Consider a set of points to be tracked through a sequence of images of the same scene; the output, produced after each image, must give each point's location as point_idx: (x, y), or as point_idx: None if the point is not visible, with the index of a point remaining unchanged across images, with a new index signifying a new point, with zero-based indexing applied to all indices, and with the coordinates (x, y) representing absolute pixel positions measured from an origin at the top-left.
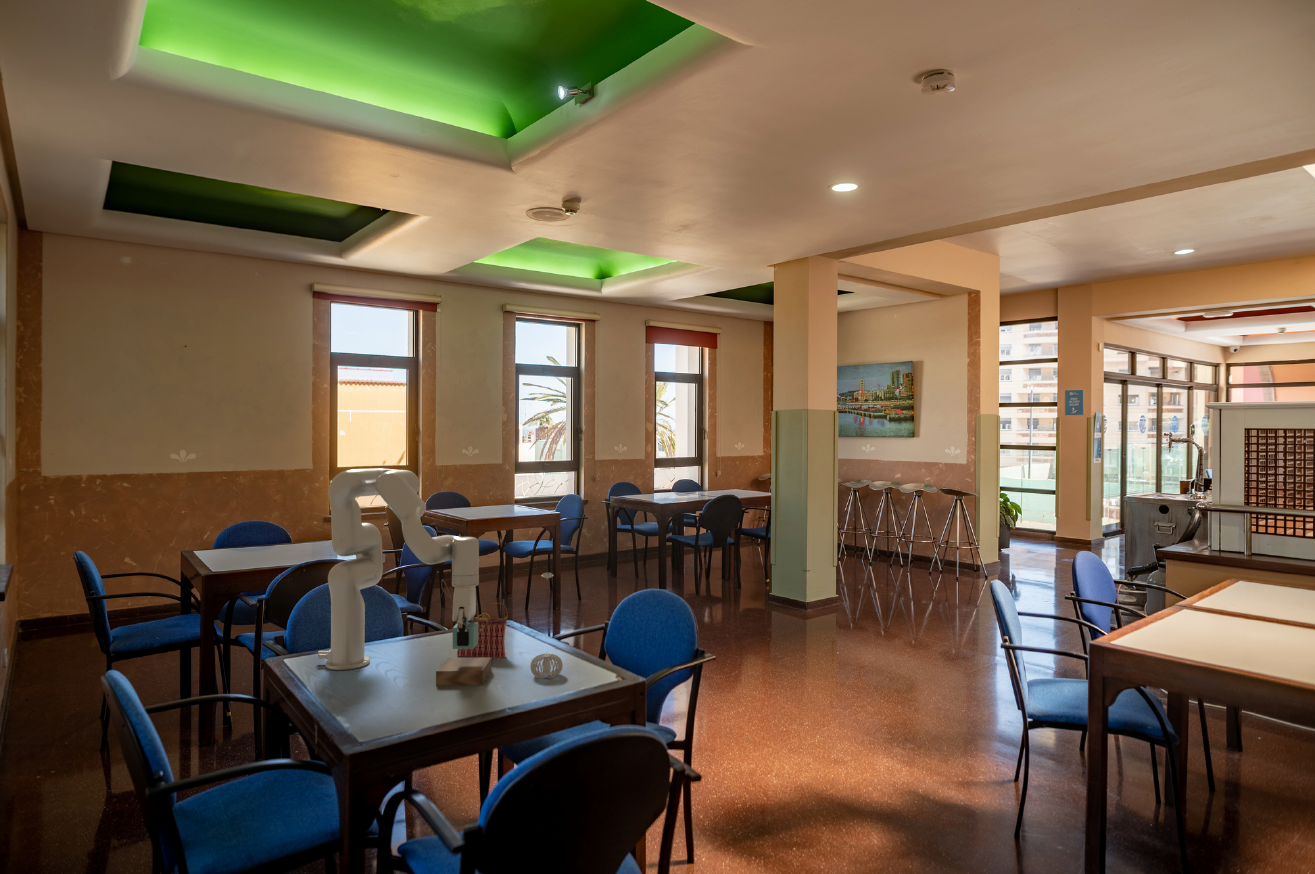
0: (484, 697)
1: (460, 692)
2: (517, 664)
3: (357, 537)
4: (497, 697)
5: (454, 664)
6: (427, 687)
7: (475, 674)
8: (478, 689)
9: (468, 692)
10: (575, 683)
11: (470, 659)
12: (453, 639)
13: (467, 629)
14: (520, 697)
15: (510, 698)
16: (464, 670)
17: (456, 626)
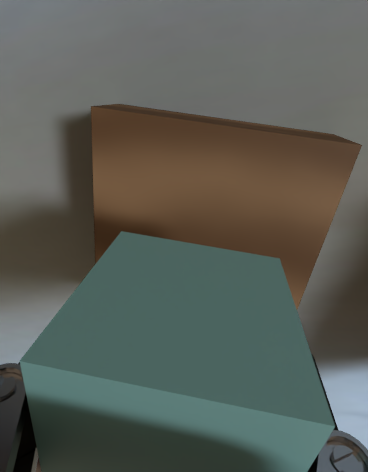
0: (6, 277)
1: (41, 210)
2: (324, 377)
3: None
4: (11, 307)
5: (203, 196)
6: (93, 65)
7: None
8: (74, 263)
9: (43, 234)
10: None
11: None
12: (93, 274)
13: (31, 451)
14: (19, 352)
15: (9, 333)
16: (102, 244)
17: (93, 399)
